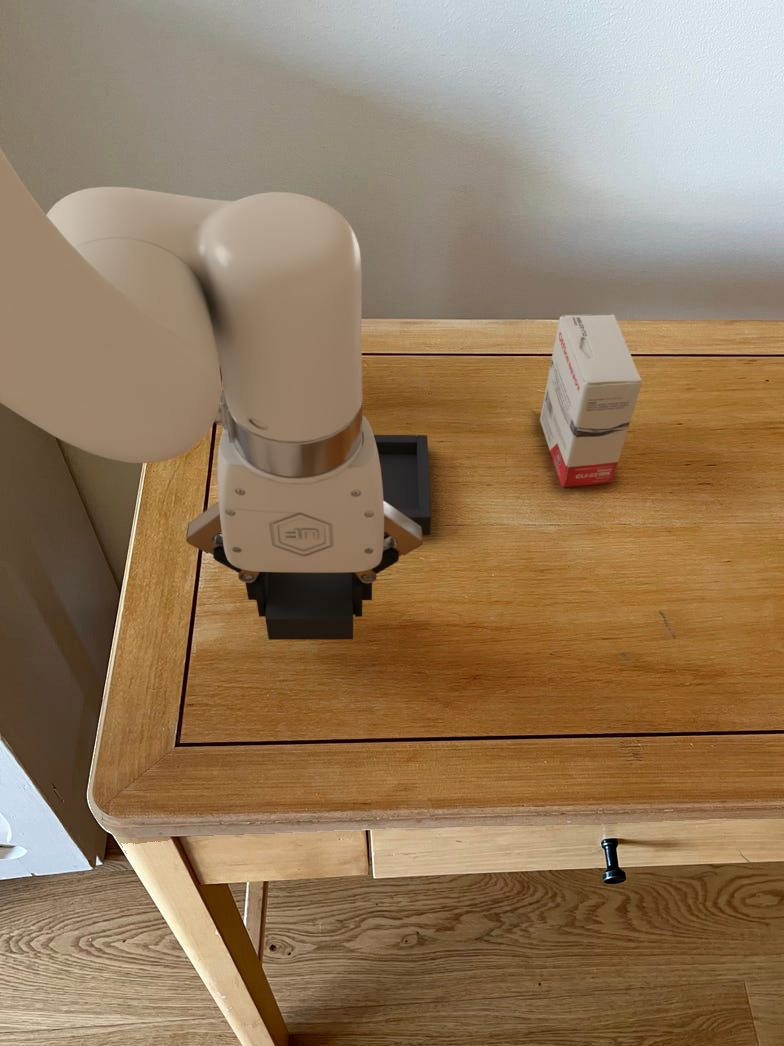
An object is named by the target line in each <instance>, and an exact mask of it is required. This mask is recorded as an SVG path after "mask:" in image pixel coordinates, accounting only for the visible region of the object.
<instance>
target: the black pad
mask: <svg viewBox="0 0 784 1046" xmlns="http://www.w3.org/2000/svg"><path fill="white" fill-rule="evenodd" d="M264 618H265V626H266V633H267V638H268V641H269V640H270V641H281V640H282V641H285V640H286V641H287V640H288V641H290V640H291V641H292V640H293V641H294V640H296V641H298V640H299V641H300V640H303V641H305V640H309V641H311V640H312V641H313V640H314V641H315V640H318V641H319V640H327V641H328V640H330V641H331V640H332V641H333V640H338V641H339V640H340V641H341V640H342V641H343V640H346V641H347V640H348V641H349V640H354V615H353V602H352V572H336V573H303V572H269V581H268V596H267V602H266V617H264Z"/></svg>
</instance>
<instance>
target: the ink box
mask: <svg viewBox="0 0 784 1046" xmlns="http://www.w3.org/2000/svg"><path fill="white" fill-rule="evenodd" d="M556 329H557V331H556V334H555V339H554V346H553V350H552V354H551V361H550V365H549V371H548V375H547V382H546V387H545V391H544V396H543V401H542V406H541V407H542V408H541V412H540V417H539V422H540V425H541V427H542V431H543V434H544V438H545V440H546V443H547V447H548V450H549V452H550V456H551V459H552V463H553V466H554V469H555V472H556V475H557V478H558V481H559V484H560V487H562V488H568V487H580V486H581V487H582V486H590V485H591V486H593V485H601V484H609V483H613V480H614V476H615V473H616V470H617V466H618V464H619V460H620V457H621V453H622V449H623V446H624V443H625V441H626V438H627V437H626V436H627V433H628V432H629V431H628V430H629V427H630V424H631V420H632V417H633V414H634V411H635V408H636V404H637V402H638V398H639V394H640V391H641V388H642V384H643V380H642V377H641V375H640V373H639V371H638V369H637V366H636V364H635V361H634V359H633V356H632V354H631V352H630V349H629V347H628V345H627V342H626V340H625V338H624V337H625V336H624V335H623V332H622V330H621V328H620V325H619V322H618V320H617V318H616V316H615V313H595V314H594V313H587V314H585V313H584V314H565V315H564V314H562V315H561V316H560V317H559V320H558V324H557V328H556Z"/></svg>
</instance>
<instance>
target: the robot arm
mask: <svg viewBox="0 0 784 1046" xmlns="http://www.w3.org/2000/svg"><path fill="white" fill-rule="evenodd" d="M362 307H363V305H362V258H361V249H360V245H359V241H358V239H357V235H356V233H355V231H354V229H353V228H352V226H351V225H350V223H349V222H348V221H347V219H346V218H345V217H344V216H343V215H342V214H341V213H340V212H339V211H338V210H337V209H335V208H333V207H332V206H331V205H330V204H327V203H325V202H323V201H320V200H319V199H317V198H315V197H311V196H308V195H304V194H300V193H295V192H287V191H269V192H261V193H255V194H250V195H248V196H245V197H242V198H240V199H236V200H225V199H224V200H223V199H213V198H205V197H197V196H190V195H182V194H176V193H171V192H169V193H168V192H164V191H156V190H149V189H143V188H137V187H136V188H135V187H126V186H97V187H88V188H84V189H80V190H77V191H74V192H72V193H70V194H68V195H66V196H64V197H63V198H61V199H60V200H58V201H56V203H54V205H52V207H51V208H50V209H49V210H48V212H47V213H45V211H43V209H42V208H41V206H40V204H39V203H38V202H37V201H36V199H35V198H34V197H33V195H32V194H31V193H30V191H29V190H28V188H27V187H26V185H25V184H24V182H23V181H22V179H21V178H20V177H19V175H18V173H17V172H16V170H15V169H14V167H13V166H12V164H11V163H10V161H9V160H8V158H7V156H6V154H5V153H4V151H3V150H2V147H1V146H0V404H2V405H3V406H5V407H7V408H8V409H9V410H11V411H13V412H14V413H16V414H17V415H19V416H20V417H22V418H23V419H24V420H27V421H28V422H30V423H31V424H33V425H35V426H37V427H38V428H39V429H42V430H43V431H45V432H46V433H48V434H49V435H52V436H53V437H55V438H57V439H58V440H60V441H62V442H64V443H66V444H68V445H70V446H73V447H75V448H77V449H80V450H82V451H84V452H86V453H89V454H92V455H94V456H98V457H101V458H103V459H107V460H111V461H116V462H122V463H127V464H152V463H160V462H164V461H168V460H172V459H175V458H177V457H179V456H181V455H183V454H185V453H187V452H189V451H191V450H192V449H193V448H194V447H196V445H198V444H199V443H200V442H201V441H203V439H205V437H206V436H207V434H208V433H209V431H211V429H212V427H213V425H214V423H215V424H216V426H217V425H220V426H222V430H221V436H220V439H219V442H218V448H217V457H216V461H217V462H216V486H217V500H218V501H216V503H214V504H213V505H212V506H210V507H208V508H207V509H206V510H204V511H203V512H202V513H201V514H199V515H198V516H196V517H195V518H194V519H192V521H190V522H189V523H188V524H187V530H186V537H185V541H186V543H187V544H189V545H190V546H192V547H195V548H197V549H198V550H200V551H202V552H204V553H206V554H211V555H212V557H213V559H214V560H215V561H216V562H217V563H219V564H221V565H223V566H225V567H227V568H229V569H231V570H232V571H235V572H236V573H238V579H239V581H240V582H242V583H245V588H246V595H247V599H248V601H256V606H257V607H256V608H257V613H258V617H260V618H265V617H266V602H267V596H268V581H269V572H303V573H336V572H352V602H353V616H355V617H356V618H358V617H359V618H362V617H363V601H373V583H375V582H376V581H377V576H378V575H377V574H379V573H380V572H382V571H384V570H386V569H388V568H389V567H391V566H393V565H394V564H397V562H398V561H399V559H400V557H401V556H405V555H407V554H409V553H411V552H413V551H414V550H416V549H417V548H418V549H419V547H421V546H422V545H423V535H422V527H421V526H420V525H418V524H417V523H415V522H414V521H413V520H411V519H410V518H408V517H407V516H405V515H404V514H403V513H401V512H400V511H398V510H397V509H395V508H394V507H393V506H391V505H390V504H388V503H387V502H385V501H384V500H383V486H382V476H381V467H380V461H379V455H378V450H377V446H376V442H375V438H374V435H375V434H374V432H373V428H372V426H371V423H370V422H369V420H368V419H367V418H366V417H365V415H363V352H362V351H363V346H362V345H363V343H362V342H363V339H362V338H363V337H362V335H363V333H362V332H363V330H362V329H363V327H362V323H363V320H362V318H363V316H362V313H363V311H362V310H363V309H362ZM222 385H223V387H222ZM222 388H223V389H222ZM384 532H385V533H387V534H388V535H384Z"/></svg>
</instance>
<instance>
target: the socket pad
mask: <svg viewBox="0 0 784 1046" xmlns="http://www.w3.org/2000/svg"><path fill="white" fill-rule="evenodd" d="M373 435H374V438H375V442H376V446H377V450H378V455H379V461H380V467H381V476H382V486H383V500H384V501H385V502H387V503H388V504H390V505H391V506H393V507H394V508H395V509H397V510H398V511H400V512H401V513H403V514H404V515H405V516H407V517H408V518H410V519H411V520H413V521H414V522H415V523H417V524H418V525H420V526H421V527H422V536H429V535H431V532H432V531H431V529H432V528H431V527H432V507H431V506H432V503H431V482H430V464H429V463H430V462H429V444H428V435H427V434H417V435H416V434H373ZM385 535H388V534H387V533H385V532H384V536H385Z"/></svg>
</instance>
